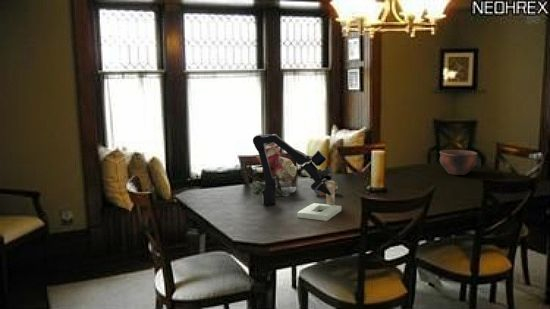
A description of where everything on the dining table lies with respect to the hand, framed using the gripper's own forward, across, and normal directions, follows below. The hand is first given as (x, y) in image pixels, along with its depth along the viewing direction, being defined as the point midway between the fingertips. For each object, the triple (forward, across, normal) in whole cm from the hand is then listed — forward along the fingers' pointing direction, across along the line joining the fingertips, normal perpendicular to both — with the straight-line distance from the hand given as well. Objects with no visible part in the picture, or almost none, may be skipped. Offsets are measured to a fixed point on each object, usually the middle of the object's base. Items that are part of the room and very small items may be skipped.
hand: (332, 193), depth 282 cm
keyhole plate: (+4, -14, +6) cm, 16 cm away
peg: (+4, 0, +6) cm, 8 cm away
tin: (-5, +25, +16) cm, 30 cm away
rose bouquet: (-27, +22, +38) cm, 51 cm away
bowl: (+37, +115, -26) cm, 124 cm away
